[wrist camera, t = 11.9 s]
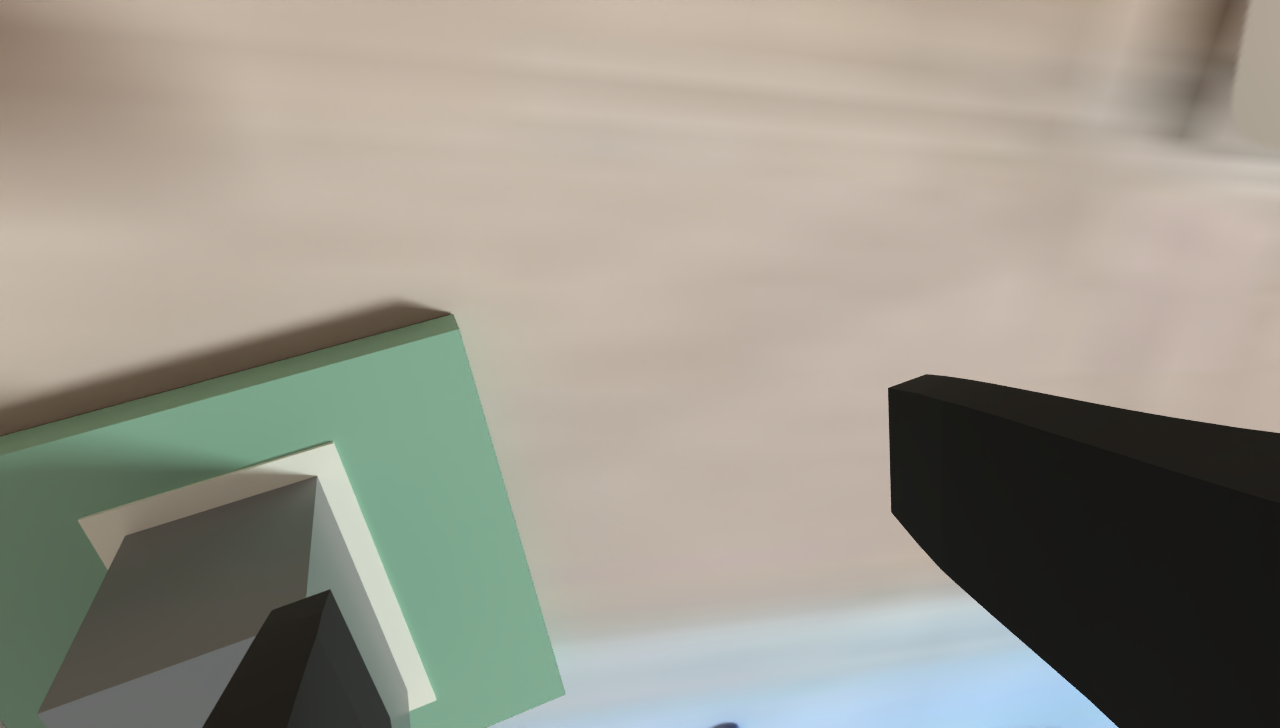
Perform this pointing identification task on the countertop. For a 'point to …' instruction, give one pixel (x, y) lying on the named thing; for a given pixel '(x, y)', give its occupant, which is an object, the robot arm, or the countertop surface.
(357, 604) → the block
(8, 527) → the board
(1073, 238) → the countertop surface
